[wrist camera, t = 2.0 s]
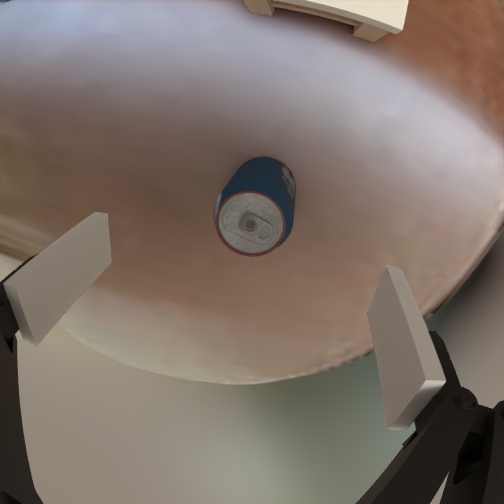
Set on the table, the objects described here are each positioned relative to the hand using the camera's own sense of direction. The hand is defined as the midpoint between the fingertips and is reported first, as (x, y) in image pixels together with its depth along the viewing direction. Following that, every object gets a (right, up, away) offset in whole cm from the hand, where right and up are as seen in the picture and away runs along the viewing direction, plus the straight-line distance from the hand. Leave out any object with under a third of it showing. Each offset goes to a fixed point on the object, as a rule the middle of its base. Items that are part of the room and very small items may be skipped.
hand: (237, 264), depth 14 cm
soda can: (+2, +8, +22) cm, 24 cm away
